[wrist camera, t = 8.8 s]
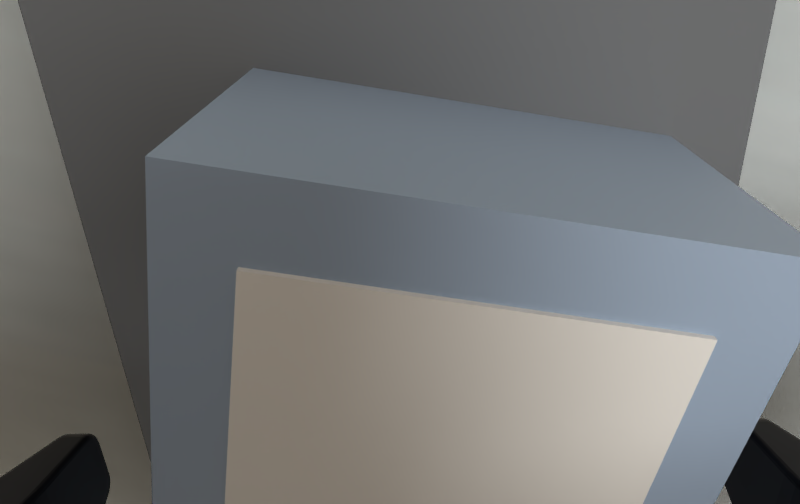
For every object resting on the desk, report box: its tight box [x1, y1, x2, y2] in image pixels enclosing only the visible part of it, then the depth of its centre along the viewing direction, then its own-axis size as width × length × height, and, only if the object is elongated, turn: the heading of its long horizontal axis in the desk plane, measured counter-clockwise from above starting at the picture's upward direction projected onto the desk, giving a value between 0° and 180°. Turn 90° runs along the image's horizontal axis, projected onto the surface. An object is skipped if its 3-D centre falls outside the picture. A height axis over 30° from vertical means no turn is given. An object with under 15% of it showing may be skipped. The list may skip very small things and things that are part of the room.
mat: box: [18, 0, 776, 461], centre depth 11 cm, size 16×10×1 cm, turn 2°
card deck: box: [145, 68, 800, 504], centre depth 9 cm, size 6×9×4 cm, turn 171°
